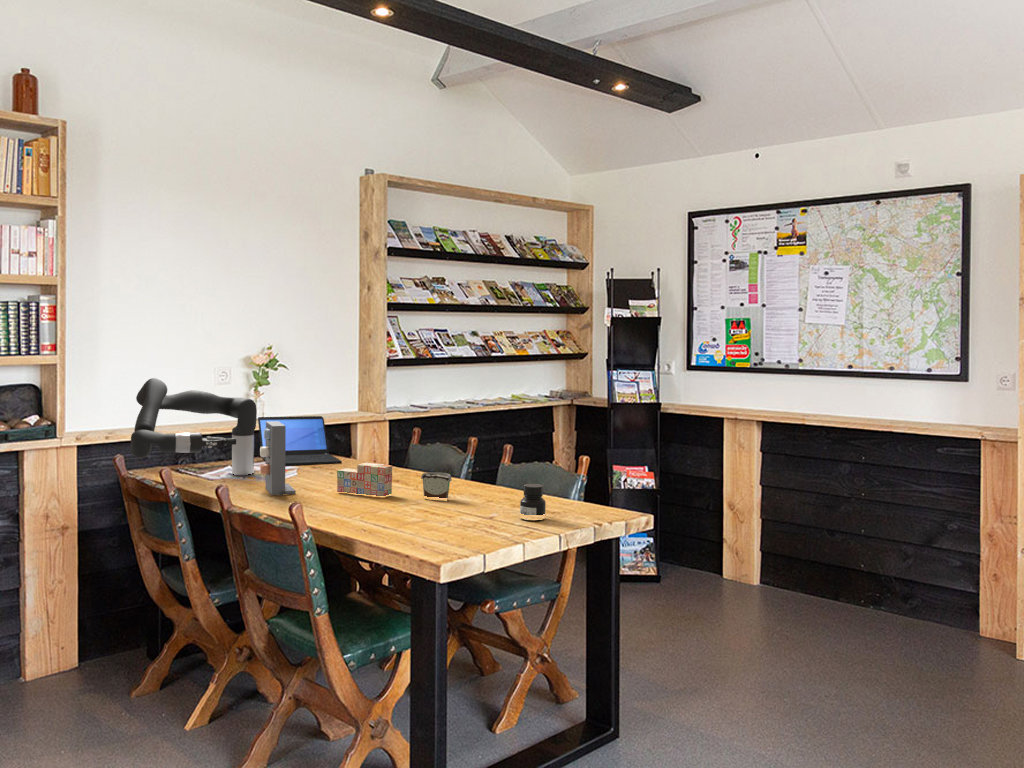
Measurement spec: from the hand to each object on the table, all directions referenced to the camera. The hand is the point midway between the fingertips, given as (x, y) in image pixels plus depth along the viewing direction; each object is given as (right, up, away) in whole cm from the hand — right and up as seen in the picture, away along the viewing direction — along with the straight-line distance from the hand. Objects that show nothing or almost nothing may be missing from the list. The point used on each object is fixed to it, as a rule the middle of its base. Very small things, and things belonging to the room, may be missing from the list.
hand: (235, 441), depth 341 cm
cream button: (+10, -6, +5) cm, 13 cm away
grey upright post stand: (+15, -20, +9) cm, 27 cm away
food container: (+78, -23, +1) cm, 81 cm away
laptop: (+3, -15, +89) cm, 91 cm away
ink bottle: (+114, -26, -30) cm, 120 cm away
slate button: (+12, +1, +6) cm, 13 cm away
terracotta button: (+10, -13, +6) cm, 18 cm away
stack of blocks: (+48, -22, +7) cm, 53 cm away
